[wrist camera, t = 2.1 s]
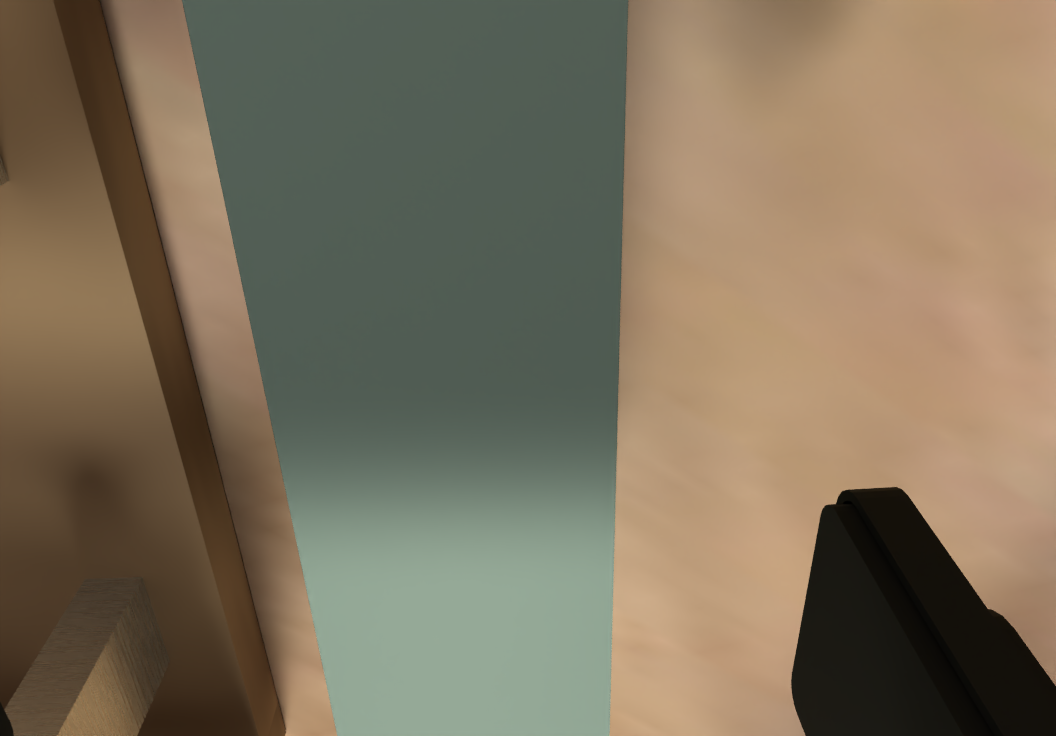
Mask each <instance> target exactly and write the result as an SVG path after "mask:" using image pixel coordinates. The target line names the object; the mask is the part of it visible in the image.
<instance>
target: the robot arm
mask: <svg viewBox="0 0 1056 736" xmlns="http://www.w3.org/2000/svg"><path fill="white" fill-rule="evenodd" d="M791 685H792V695H793V701H794V705H795V709H796V712H797V715H798V717H799V720H800V722H801V725H802V728H803V730H804V733H805V735H806V736H1056V686H1055V685H1054V683H1053V682H1052V680H1051V679H1050V678H1049V676H1048V675H1047V673H1046V672H1045V671H1044V669H1043V668H1042V667H1041V665H1040V664H1039V662H1038V661H1037V660H1036V658H1035V657H1034V655H1033V654H1032V653H1031V651H1030V650H1029V648H1028V647H1027V646H1026V644H1025V643H1024V642H1023V640H1022V639H1021V637H1020V636H1019V635H1018V633H1017V632H1016V630H1015V629H1014V628H1013V627H1012V626H1011V625H1010V623H1009V622H1008V621H1007V620H1006V619H1005V618H1004V617H1003V616H1002V615H1000V614H998V613H997V612H995V611H993V610H991V609H987V607H986V606H985V605H984V603H983V602H982V600H981V599H980V597H979V596H978V595H977V593H976V592H975V590H974V589H973V587H972V586H971V585H970V583H969V582H968V580H967V579H966V577H965V576H964V575H963V573H962V572H961V570H960V569H959V568H958V566H957V565H956V563H955V562H954V560H953V559H952V558H951V556H950V555H949V553H948V552H947V550H946V549H945V548H944V546H943V545H942V543H941V542H940V541H939V539H938V538H937V536H936V535H935V533H934V532H933V531H932V529H931V528H930V526H929V525H928V523H927V522H926V521H925V519H924V518H923V516H922V515H921V513H920V512H919V511H918V509H917V508H916V506H915V505H914V504H913V502H912V501H911V499H910V498H909V496H908V495H907V494H906V493H905V492H904V491H903V490H902V489H900V488H897V487H890V488H872V489H854V490H845V491H842V492H841V494H840V495H839V497H838V500H837V503H836V504H833V505H826V506H825V507H824V508H823V509H822V513H821V517H820V522H819V528H818V533H817V539H816V544H815V550H814V555H813V561H812V566H811V572H810V577H809V583H808V588H807V594H806V599H805V605H804V610H803V616H802V621H801V627H800V633H799V638H798V644H797V649H796V655H795V660H794V666H793V671H792V679H791ZM0 736H14V733H13V728H12V725H11V722H10V720H9V718H8V716H7V714H6V712H5V710H4V708H3V706H2V704H1V702H0Z"/></svg>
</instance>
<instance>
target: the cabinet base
mask: <svg viewBox="0 0 1056 736" xmlns="http://www.w3.org/2000/svg"><path fill="white" fill-rule="evenodd" d="M0 702H1V704H2V706H3V708H4V710H5V712H6V714H7V716H8V718H9V720H10V722H11V725H12V728H13V733H14V736H285V733H286V731H285V727H284V723H283V719H282V715H281V711H280V707H279V703H278V699H277V696H276V692H275V688H274V684H273V680H272V676H271V672H270V668H269V664H268V660H267V656H266V652H265V648H264V645H263V641H262V637H261V633H260V629H259V625H258V621H257V617H256V613H255V609H254V605H253V601H252V598H251V594H250V590H249V586H248V582H247V578H246V574H245V570H244V566H243V562H242V558H241V554H240V550H239V547H238V543H237V539H236V535H235V531H234V527H233V523H232V519H231V515H230V511H229V507H228V503H227V500H226V496H225V492H224V488H223V484H222V480H221V476H220V472H219V468H218V464H217V460H216V456H215V452H214V449H213V445H212V441H211V437H210V433H209V429H208V425H207V421H206V417H205V413H204V409H203V405H202V402H201V398H200V394H199V390H198V386H197V382H196V378H195V374H194V370H193V366H192V362H191V358H190V354H189V351H188V347H187V343H186V339H185V335H184V331H183V327H182V323H181V319H180V315H179V311H178V307H177V304H176V300H175V296H174V292H173V288H172V284H171V280H170V276H169V272H168V268H167V264H166V260H165V256H164V253H163V249H162V245H161V241H160V237H159V233H158V229H157V225H156V221H155V217H154V213H153V209H152V206H151V202H150V198H149V194H148V190H147V186H146V182H145V178H144V174H143V170H142V166H141V162H140V158H139V155H138V151H137V147H136V143H135V139H134V135H133V131H132V127H131V123H130V119H129V115H128V111H127V108H126V104H125V100H124V96H123V92H122V88H121V84H120V80H119V76H118V72H117V68H116V64H115V60H114V57H113V53H112V49H111V45H110V41H109V37H108V33H107V29H106V25H105V21H104V17H103V13H102V10H101V6H100V2H99V0H0Z"/></svg>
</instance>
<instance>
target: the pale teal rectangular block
mask: <svg viewBox="0 0 1056 736" xmlns="http://www.w3.org/2000/svg"><path fill="white" fill-rule="evenodd" d="M182 2H183V7H184V12H185V17H186V21H187V26H188V31H189V36H190V40H191V45H192V50H193V54H194V59H195V64H196V69H197V73H198V78H199V83H200V88H201V92H202V97H203V102H204V107H205V111H206V116H207V121H208V125H209V130H210V135H211V140H212V144H213V149H214V154H215V159H216V163H217V168H218V173H219V178H220V182H221V187H222V192H223V196H224V201H225V206H226V211H227V215H228V220H229V225H230V230H231V234H232V239H233V244H234V249H235V253H236V258H237V263H238V267H239V272H240V277H241V282H242V286H243V291H244V296H245V301H246V305H247V310H248V315H249V320H250V324H251V329H252V334H253V338H254V343H255V348H256V353H257V357H258V362H259V367H260V372H261V376H262V381H263V386H264V391H265V395H266V400H267V405H268V409H269V414H270V419H271V424H272V428H273V433H274V438H275V443H276V447H277V452H278V457H279V462H280V466H281V471H282V476H283V480H284V485H285V490H286V495H287V499H288V504H289V509H290V514H291V518H292V523H293V528H294V533H295V537H296V542H297V547H298V551H299V556H300V561H301V566H302V570H303V575H304V580H305V585H306V589H307V594H308V599H309V604H310V608H311V613H312V618H313V622H314V627H315V632H316V637H317V641H318V646H319V651H320V656H321V660H322V665H323V670H324V675H325V679H326V684H327V689H328V693H329V698H330V703H331V708H332V712H333V717H334V722H335V727H336V731H337V736H609V732H610V693H611V653H612V614H613V574H614V535H615V495H616V456H617V417H618V377H619V338H620V298H621V259H622V219H623V180H624V140H625V101H626V62H627V22H628V0H182Z"/></svg>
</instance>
